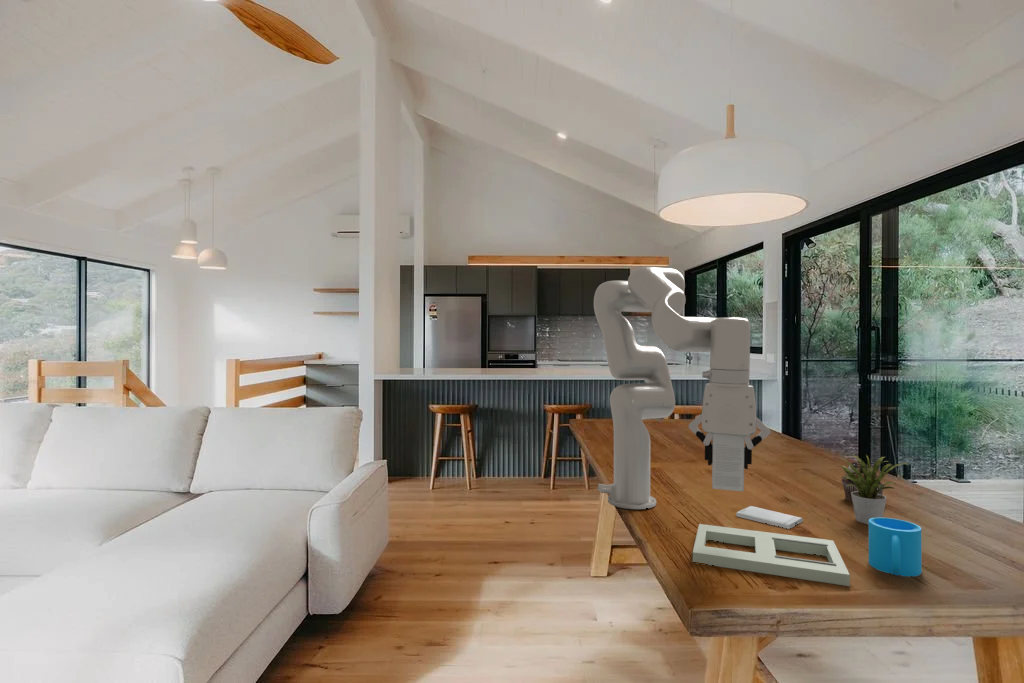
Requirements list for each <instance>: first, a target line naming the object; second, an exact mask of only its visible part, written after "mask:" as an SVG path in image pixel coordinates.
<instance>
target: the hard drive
mask: <svg viewBox="0 0 1024 683" xmlns="http://www.w3.org/2000/svg"><path fill="white" fill-rule="evenodd" d="M735 515H736V516H735V517H738V518H742V519H745V520H749V521H754V522H758V523H762V524H765V523H767V524H766V525H770V526H774V525H775V526H774V527H778V526H779V528H782V527H783V528H782V529H786V528H787V529H786V530H791V529H793V528H794V527H796V526H798V525H799V523H800V524H801V523H803V522H804V518H803V517H800V516H795V515H792V514H786V513H783V512H778V511H774V510H770V509H766V508H761V507H758V506H753V505H749V506H748V507H745V508H743V509H740V510H738V511H737V512H736V514H735ZM797 524H798V525H797ZM795 525H796V526H795ZM790 528H791V529H790Z"/></svg>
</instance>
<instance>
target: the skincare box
mask: <svg viewBox="0 0 1024 683" xmlns="http://www.w3.org/2000/svg"><path fill="white" fill-rule="evenodd" d="M711 443H712V465H711V466H712V467H711V468H712V469H711V472H712V474H711V484H712V485H711V487H712V489H713V490H724V491H734V492H736V491H737V492H745V490H744V489H745V468H744V447H745V441H744V436H736V435H723V434H713V437H712V439H711Z"/></svg>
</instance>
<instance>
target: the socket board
mask: <svg viewBox="0 0 1024 683" xmlns="http://www.w3.org/2000/svg"><path fill="white" fill-rule="evenodd" d="M706 539H707V540H706ZM708 540H714V541H713V542H716V541H719V542H718V543H723V542H724V543H725V544H733V545H738V546H740V545H741V546H748V547H753V546H754V552H749V551H744V550H743V551H742V550H736V549H730V548H729V549H727V548H721V547H713V546H706V545H705V544H707V541H708ZM693 544H694V545H693V550H692V563H693V562H699V563H705V564H708V565H707V566H712V565H714V567H719V568H726V569H732V570H740V571H747V572H753V573H758V574H759V573H760V574H766V575H772V576H773V575H774V576H780V577H785V578H786V577H787V578H793V579H800V580H805V581H806V580H807V581H812V582H819V583H820V582H821V583H826V584H832V585H833V584H834V585H837V586H838V585H839V586H845V587H851V584H850V583H851V576H850V575H851V574H850V573H849V571H848V568H847V566H846V564H845V562H844V560H843V558H842V556H841V554H840V551H839V550H838V548H837V546H836V543H835V541H834V540H833V539H824V538H817V537H809V536H801V535H793V534H792V535H791V534H783V533H778V532H776V533H775V532H769V531H768V532H766V531H761V530H753V529H752V530H750V529H743V528H735V527H729V526H719V525H711V524H702V523H698V527H697V532H696V535H695V540H694V543H693ZM776 550H777V551H782V552H783V551H784V552H791V553H798V554H805V553H806V555H813V554H816V555H815V556H820V555H822V556H823V557H826V558H827V561H823V560H821V561H819V560H813V559H805V558H798V557H791V556H784V555H778V554H777V552H776ZM699 563H698V564H699ZM705 564H704V565H705Z"/></svg>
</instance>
